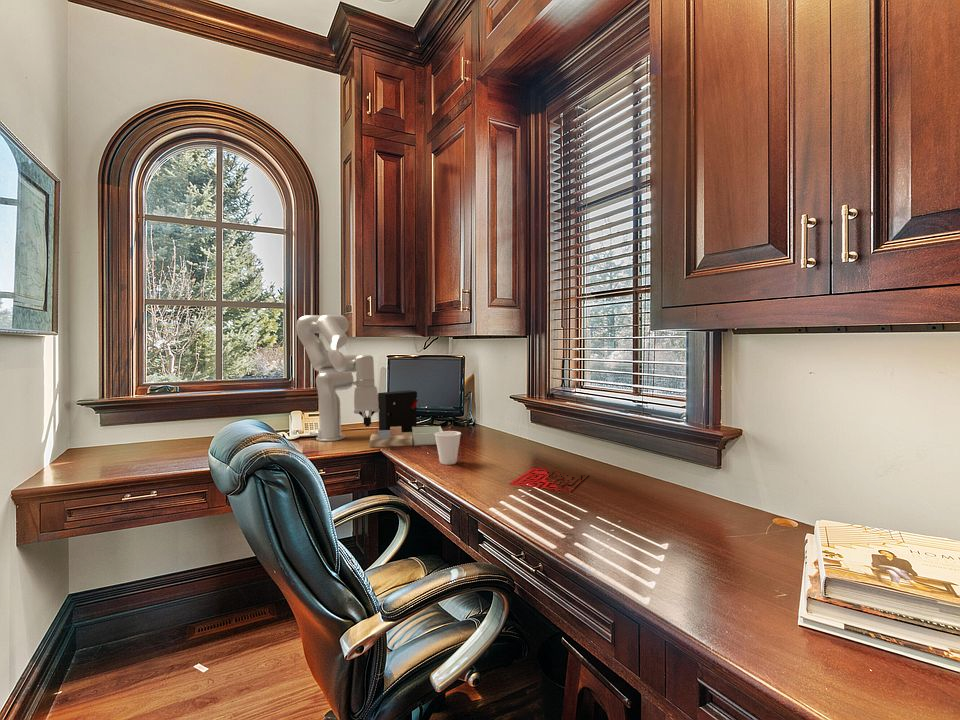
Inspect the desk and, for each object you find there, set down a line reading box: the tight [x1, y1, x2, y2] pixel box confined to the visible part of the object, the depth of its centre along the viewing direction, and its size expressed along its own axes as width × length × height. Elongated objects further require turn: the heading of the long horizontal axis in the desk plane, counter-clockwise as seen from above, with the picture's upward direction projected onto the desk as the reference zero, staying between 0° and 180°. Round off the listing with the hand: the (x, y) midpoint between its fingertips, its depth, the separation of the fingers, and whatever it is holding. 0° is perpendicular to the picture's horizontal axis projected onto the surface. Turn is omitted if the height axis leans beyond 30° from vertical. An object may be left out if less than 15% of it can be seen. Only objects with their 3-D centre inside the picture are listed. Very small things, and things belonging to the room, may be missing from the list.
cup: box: [434, 430, 462, 466], centre depth 186 cm, size 10×10×11 cm
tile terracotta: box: [390, 426, 402, 435], centre depth 228 cm, size 5×5×3 cm
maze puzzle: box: [509, 468, 570, 492], centre depth 163 cm, size 20×20×1 cm
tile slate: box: [377, 429, 390, 440], centre depth 220 cm, size 5×5×3 cm
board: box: [369, 432, 414, 448], centre depth 224 cm, size 18×15×3 cm
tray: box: [411, 425, 444, 447], centre depth 227 cm, size 13×17×5 cm
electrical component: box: [378, 389, 419, 433], centre depth 248 cm, size 18×10×20 cm, turn 128°
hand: (367, 426), depth 218 cm, fingers closed
